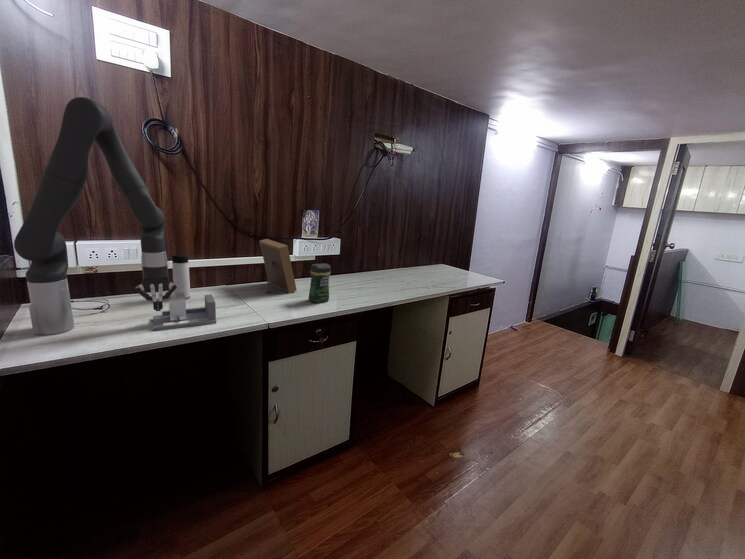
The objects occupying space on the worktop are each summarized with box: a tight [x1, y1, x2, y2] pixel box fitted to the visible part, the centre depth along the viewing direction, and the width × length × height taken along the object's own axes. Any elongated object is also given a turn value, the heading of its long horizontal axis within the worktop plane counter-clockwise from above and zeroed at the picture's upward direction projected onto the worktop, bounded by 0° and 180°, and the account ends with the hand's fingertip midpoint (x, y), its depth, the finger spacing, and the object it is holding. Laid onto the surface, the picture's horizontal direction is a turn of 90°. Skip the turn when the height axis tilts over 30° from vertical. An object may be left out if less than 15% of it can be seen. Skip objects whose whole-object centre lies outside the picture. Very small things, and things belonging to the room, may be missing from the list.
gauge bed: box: [152, 294, 217, 332], centre depth 123 cm, size 20×12×8 cm, turn 123°
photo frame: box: [258, 238, 297, 294], centre depth 170 cm, size 15×22×25 cm
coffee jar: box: [308, 262, 332, 304], centre depth 159 cm, size 10×8×19 cm
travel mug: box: [171, 254, 191, 301], centre depth 145 cm, size 6×7×20 cm
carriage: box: [168, 293, 187, 322], centre depth 121 cm, size 5×9×9 cm, turn 33°
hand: (158, 310), depth 119 cm, fingers closed
